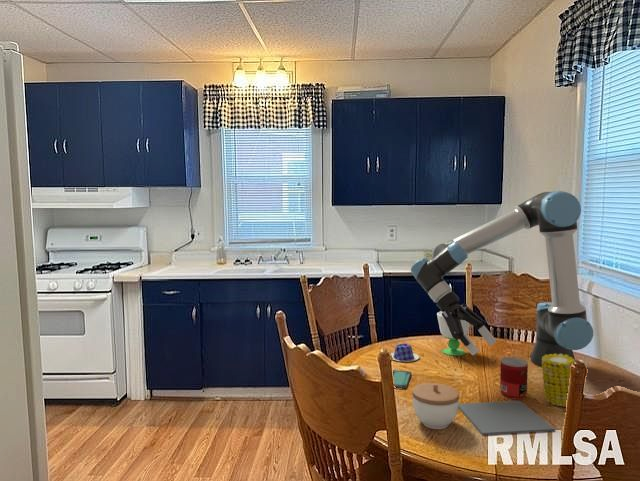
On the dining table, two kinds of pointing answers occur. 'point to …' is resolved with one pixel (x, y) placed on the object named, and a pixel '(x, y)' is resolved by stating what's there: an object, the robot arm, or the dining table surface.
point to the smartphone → (401, 378)
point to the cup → (446, 333)
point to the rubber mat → (504, 418)
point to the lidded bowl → (435, 404)
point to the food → (556, 377)
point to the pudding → (404, 353)
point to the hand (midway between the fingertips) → (485, 348)
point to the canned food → (513, 377)
